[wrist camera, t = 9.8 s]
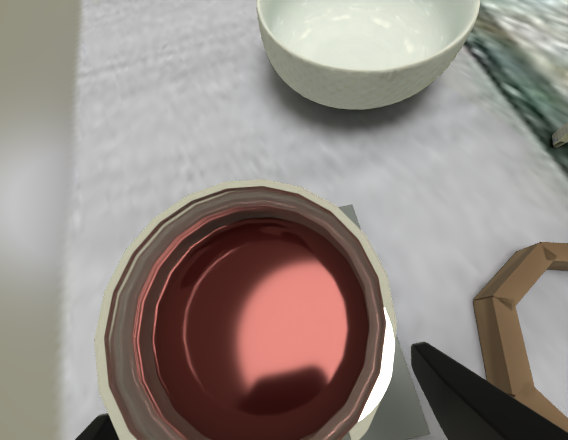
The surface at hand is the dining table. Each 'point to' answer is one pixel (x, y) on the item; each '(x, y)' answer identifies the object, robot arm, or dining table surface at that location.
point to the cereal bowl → (363, 46)
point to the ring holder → (515, 325)
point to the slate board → (395, 395)
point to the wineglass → (246, 321)
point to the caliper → (560, 136)
